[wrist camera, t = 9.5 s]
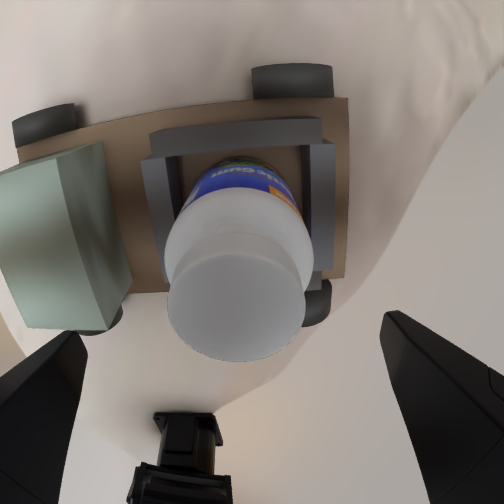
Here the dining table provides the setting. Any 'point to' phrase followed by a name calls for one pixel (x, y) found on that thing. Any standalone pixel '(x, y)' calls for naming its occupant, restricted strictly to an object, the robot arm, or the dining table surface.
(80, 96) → the dining table surface
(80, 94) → the dining table surface
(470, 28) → the dining table surface
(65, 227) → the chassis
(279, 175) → the pill bottle
